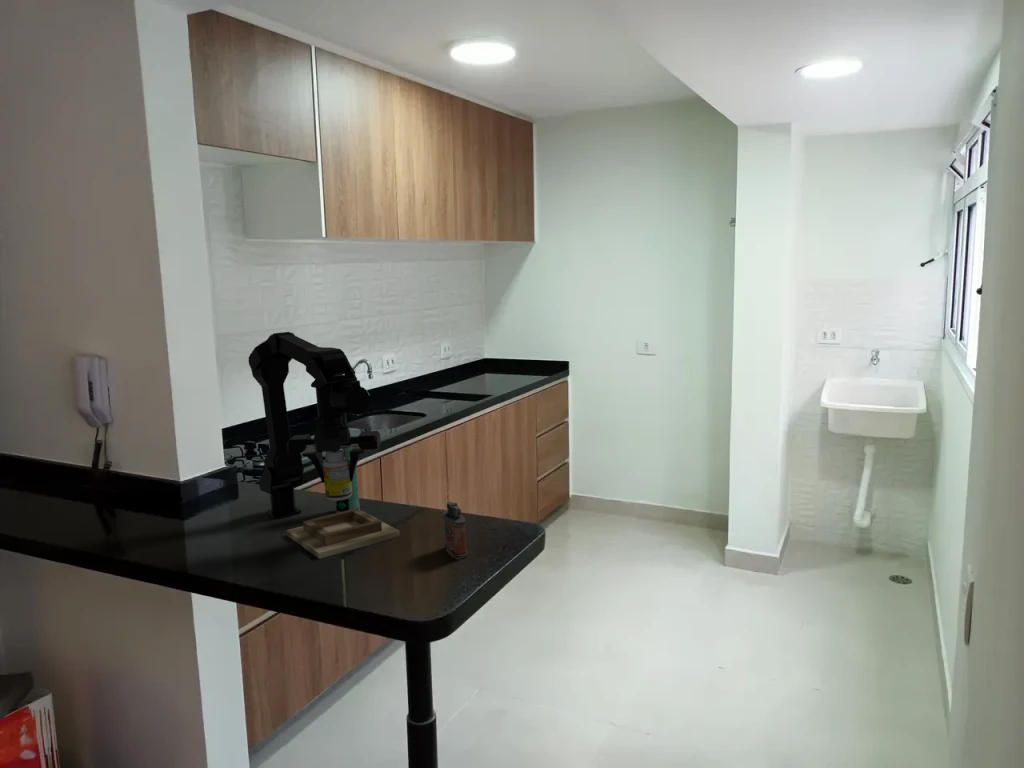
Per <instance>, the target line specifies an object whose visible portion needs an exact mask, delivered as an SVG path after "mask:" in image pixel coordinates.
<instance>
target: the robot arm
mask: <svg viewBox="0 0 1024 768" xmlns="http://www.w3.org/2000/svg"><path fill="white" fill-rule="evenodd" d="M292 360H294V361H296V362H298V363H300V364H302V365H303V366H305V372H306V373H308V374H309V376H311V377H312V378H313V379H314V380H313V381H312V382H311V383H310V387H311V388H315V395H316V396H315V397H316V407H317V426H316V430H315V433H314V436H313V438H312V435H311V434H310V433H309V434H294V435H293V436H292V437H291V433H290V432H291V431H290V425H289V416H288V410H287V409H288V408H287V401H286V394H285V387H284V385H285V382H286V379H287V378H288V375H289V373H290V369H289V368H290V365H289V364H290V362H291V361H292ZM248 365H249V368H250V370H251V376H252V377H253V378H254V380H255V381H256V382H257V383H258V384H259V386H261V393H262V394H261V395H262V400H263V407H264V414H265V422H266V429H267V437H268V438H267V439H268V445H269V449H268V451H267V453H266V455H265V458H264V460H263V461H264V463H263V464H264V470H263V472H262V474H261V475H260V478H259V480H258V486H259V489H260V491H261V492H265V493H267V494H269V501H270V502H269V503H270V508H269V509H266V514H268V515H269V516H271V517H272V518H273V519H280V518H285V517H287V516H292V515H296V514H301V513H302V509H300V508H299V507H297V505H296V503H297V502H296V494H295V488H296V487H299V486H303V482H304V481H303V479H304V471H305V468H304V465H303V459H302V458H305V457H306V458H308V459H309V460H310V461H311V463H312V465H313V466H314V468H315V470H316V471H317V474H318V476H319V479H320V480H321V483H322V484H324V473H323V462H324V458H323V453H324V452H325V453H326V451H332V452H336V451H339V450H340V446H349V445H351V447H352V449H351V451H350V452H349V454H350V481H353V478H354V474H355V470H356V468H357V465H358V462H359V459H360V457H361V455H362V454H364V453H365V452H366V450H367V451H368V450H376V449H379V447H380V445H381V443H382V439H381V433H380V432H379V431H378V430H369V431H368V430H367V431H366V430H365V431H361V432H360V433H359V435H354V436H352V435H351V431H350V429H349V426H348V422H347V414H350V415H356V416H357V415H359V416H360V415H362V414H364V413H365V412H366V411H367V410H368V408H369V406H370V404H371V395H370V394H369V392H368V391H367V389H366V388H365V387H363V386H361V381H360V380H358V377H357V375H356V371H355V369H354V368H353V366H352V365H351V363H350V361H349V359H348V357H347V356H346V354H345V352H344V351H343V350H342V349H341V348H336V347H328V346H327V347H326V346H325V347H322V346H318V345H316V344H313V343H311V342H309V341H307V340H305V339H303V338H301V337H299V336H297V335H295V333H293V332H290V331H282V332H275V333H272V334H270V335H269V336H268V338H267V339H266V340H264V341H263V342H261V343H259V344H258V345H257V346H255V347H254V348H253V350H252V351H251V353H250V354H249V356H248ZM350 436H351V437H350Z"/></svg>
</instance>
